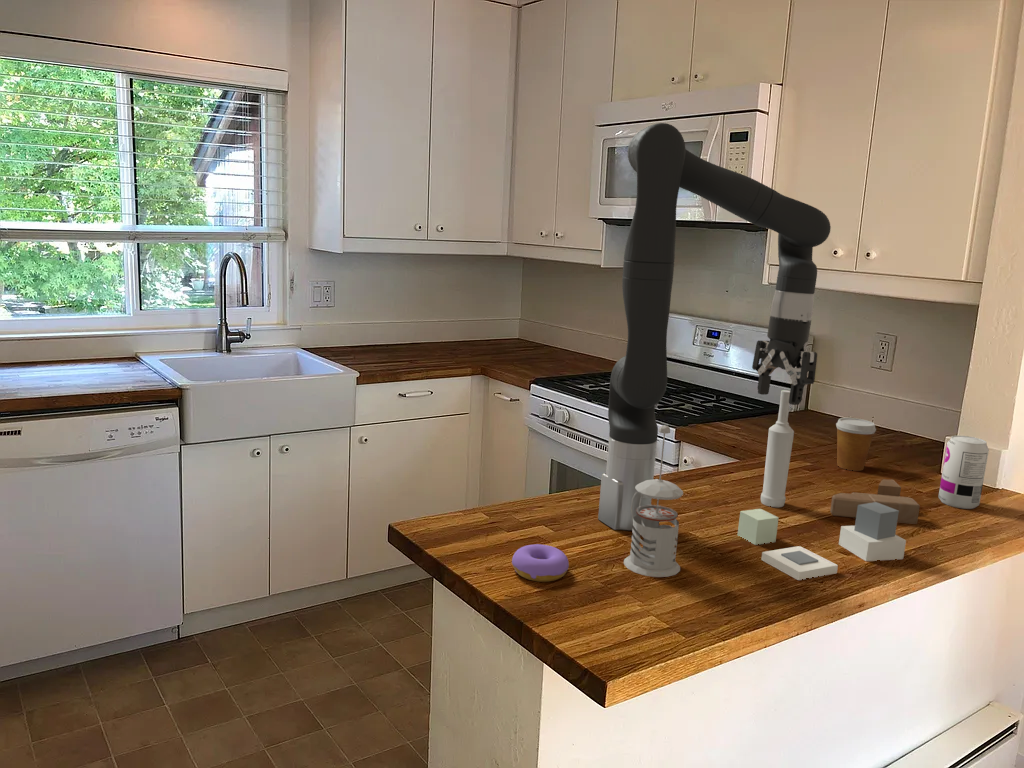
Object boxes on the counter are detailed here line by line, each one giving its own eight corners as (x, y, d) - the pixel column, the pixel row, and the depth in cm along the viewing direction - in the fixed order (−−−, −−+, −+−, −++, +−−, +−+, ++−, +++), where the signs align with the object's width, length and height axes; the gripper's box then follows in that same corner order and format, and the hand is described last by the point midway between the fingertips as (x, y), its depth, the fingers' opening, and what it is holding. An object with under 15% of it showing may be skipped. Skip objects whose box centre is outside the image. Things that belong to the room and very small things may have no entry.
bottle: (786, 508, 177) (800, 394, 172) (761, 506, 178) (774, 392, 173) (783, 501, 182) (797, 390, 177) (759, 498, 183) (772, 387, 178)
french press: (643, 580, 137) (656, 434, 133) (607, 553, 148) (619, 417, 143) (692, 573, 141) (706, 431, 136) (654, 547, 152) (667, 414, 147)
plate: (798, 580, 141) (799, 570, 140) (761, 559, 149) (762, 550, 148) (836, 573, 145) (838, 563, 144) (798, 553, 153) (799, 544, 152)
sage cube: (755, 545, 156) (758, 520, 155) (737, 535, 160) (740, 511, 159) (775, 542, 158) (778, 517, 157) (757, 532, 162) (760, 508, 161)
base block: (865, 563, 151) (868, 542, 150) (838, 545, 159) (841, 526, 158) (902, 560, 153) (906, 540, 152) (874, 543, 161) (877, 524, 160)
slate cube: (876, 539, 152) (880, 513, 151) (854, 530, 156) (857, 504, 155) (894, 536, 154) (898, 510, 153) (872, 527, 158) (876, 502, 157)
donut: (577, 582, 135) (573, 554, 134) (522, 595, 133) (517, 568, 132) (560, 557, 144) (557, 531, 143) (509, 569, 143) (505, 543, 142)
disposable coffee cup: (871, 475, 206) (878, 428, 204) (831, 469, 209) (837, 423, 207) (868, 465, 215) (875, 420, 213) (829, 459, 218) (835, 415, 215)
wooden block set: (925, 501, 171) (835, 493, 173) (921, 526, 172) (832, 518, 174) (898, 476, 188) (816, 469, 190) (895, 499, 189) (813, 492, 191)
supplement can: (933, 502, 187) (943, 438, 184) (944, 495, 193) (954, 432, 190) (972, 512, 182) (984, 446, 179) (982, 504, 188) (994, 440, 185)
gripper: (750, 310, 162) (738, 391, 165) (803, 320, 149) (789, 408, 152) (779, 311, 165) (767, 391, 168) (834, 321, 152) (820, 407, 155)
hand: (778, 399), depth 160 cm, fingers open, 8 cm apart
